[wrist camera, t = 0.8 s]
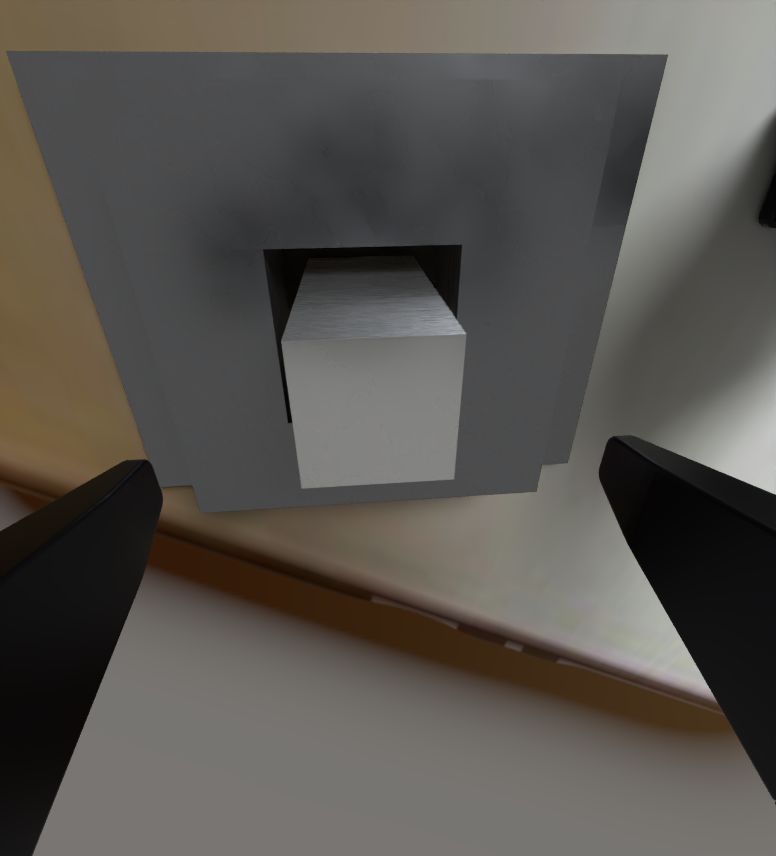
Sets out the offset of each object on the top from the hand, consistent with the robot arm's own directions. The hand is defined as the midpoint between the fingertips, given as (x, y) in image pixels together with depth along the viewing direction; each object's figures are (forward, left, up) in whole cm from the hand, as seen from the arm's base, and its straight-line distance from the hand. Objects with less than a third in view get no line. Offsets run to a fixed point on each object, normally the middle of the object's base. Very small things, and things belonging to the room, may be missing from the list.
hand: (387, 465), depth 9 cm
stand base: (0, 0, -11) cm, 11 cm away
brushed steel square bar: (0, 0, -11) cm, 11 cm away
